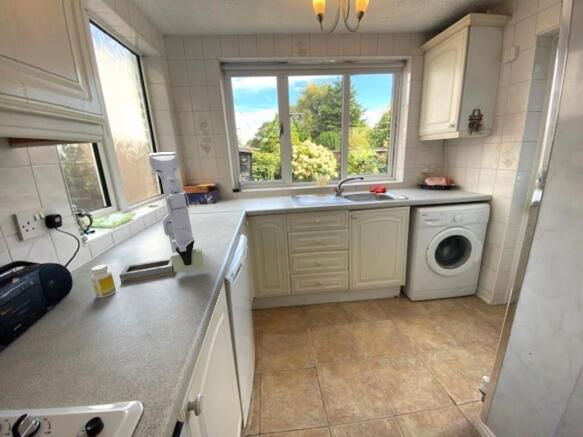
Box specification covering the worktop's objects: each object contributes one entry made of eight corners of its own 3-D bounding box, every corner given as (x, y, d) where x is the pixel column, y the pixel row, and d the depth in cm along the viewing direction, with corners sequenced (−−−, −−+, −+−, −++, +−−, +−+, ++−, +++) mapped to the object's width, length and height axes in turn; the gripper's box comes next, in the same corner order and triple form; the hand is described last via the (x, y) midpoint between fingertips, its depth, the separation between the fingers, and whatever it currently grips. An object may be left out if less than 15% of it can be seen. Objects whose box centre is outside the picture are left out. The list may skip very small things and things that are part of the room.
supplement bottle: (92, 299, 80) (84, 271, 78) (103, 290, 86) (95, 264, 83) (110, 297, 81) (102, 270, 78) (119, 288, 86) (112, 262, 84)
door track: (128, 273, 97) (126, 265, 96) (176, 265, 101) (174, 257, 100) (121, 283, 89) (119, 274, 89) (173, 274, 94) (171, 266, 93)
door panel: (175, 268, 92) (172, 252, 91) (204, 263, 95) (201, 248, 93) (174, 271, 89) (171, 256, 88) (203, 266, 92) (201, 251, 90)
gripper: (172, 223, 94) (179, 257, 97) (165, 235, 80) (173, 273, 84) (193, 220, 95) (198, 254, 99) (189, 231, 82) (196, 269, 86)
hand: (188, 262), depth 92 cm, fingers closed on door panel, 3 cm apart
